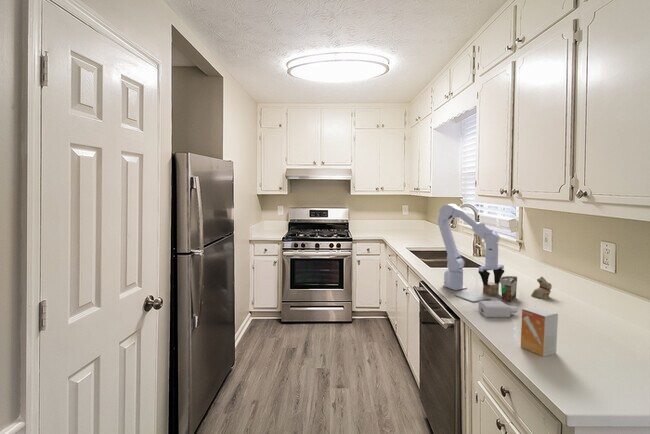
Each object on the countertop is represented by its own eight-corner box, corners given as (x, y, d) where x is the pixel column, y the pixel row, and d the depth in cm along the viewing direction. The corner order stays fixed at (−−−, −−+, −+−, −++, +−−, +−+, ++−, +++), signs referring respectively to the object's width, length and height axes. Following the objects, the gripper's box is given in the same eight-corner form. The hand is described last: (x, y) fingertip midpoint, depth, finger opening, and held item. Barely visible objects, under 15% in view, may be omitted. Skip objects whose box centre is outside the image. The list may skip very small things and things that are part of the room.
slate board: (454, 295, 181) (454, 294, 181) (471, 293, 185) (471, 291, 185) (472, 302, 170) (472, 301, 170) (491, 299, 174) (491, 298, 174)
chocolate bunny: (549, 299, 174) (550, 278, 173) (530, 296, 179) (531, 276, 178) (551, 296, 178) (552, 276, 177) (533, 294, 183) (533, 273, 183)
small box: (520, 347, 122) (521, 308, 121) (533, 343, 125) (534, 305, 124) (543, 357, 115) (544, 316, 114) (557, 353, 117) (558, 313, 116)
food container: (502, 294, 182) (503, 274, 181) (516, 297, 178) (517, 276, 178) (495, 300, 173) (496, 279, 172) (510, 303, 169) (510, 281, 168)
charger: (524, 318, 149) (486, 318, 150) (514, 311, 159) (478, 310, 159) (525, 307, 149) (486, 306, 150) (514, 300, 158) (478, 300, 159)
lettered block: (482, 292, 186) (483, 282, 186) (490, 291, 188) (490, 281, 188) (491, 295, 182) (491, 285, 181) (498, 294, 184) (499, 284, 183)
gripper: (486, 259, 177) (486, 287, 178) (509, 257, 183) (508, 284, 184) (475, 257, 184) (475, 284, 185) (497, 255, 189) (497, 281, 190)
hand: (491, 284), depth 185 cm, fingers open, 7 cm apart
